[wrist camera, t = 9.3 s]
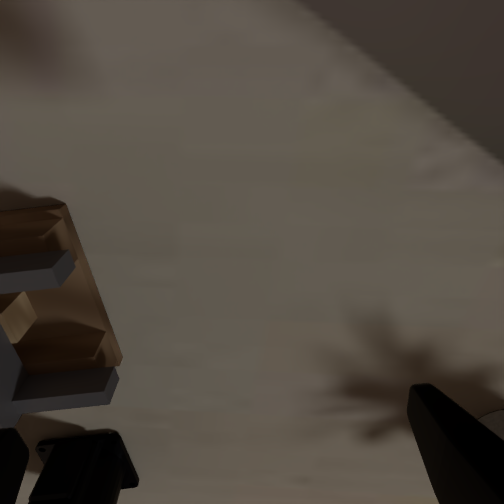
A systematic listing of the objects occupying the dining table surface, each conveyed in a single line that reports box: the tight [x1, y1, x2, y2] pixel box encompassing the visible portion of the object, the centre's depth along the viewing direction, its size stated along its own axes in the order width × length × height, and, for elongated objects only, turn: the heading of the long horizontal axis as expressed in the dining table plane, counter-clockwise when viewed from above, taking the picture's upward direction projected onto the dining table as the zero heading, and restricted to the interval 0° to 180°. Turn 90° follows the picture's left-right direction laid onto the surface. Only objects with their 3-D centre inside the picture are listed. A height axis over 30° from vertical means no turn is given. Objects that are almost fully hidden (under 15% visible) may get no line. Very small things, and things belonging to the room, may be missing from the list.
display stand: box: [0, 204, 123, 375], centre depth 20 cm, size 11×7×3 cm, turn 6°
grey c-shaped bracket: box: [0, 249, 119, 428], centre depth 18 cm, size 9×7×3 cm
